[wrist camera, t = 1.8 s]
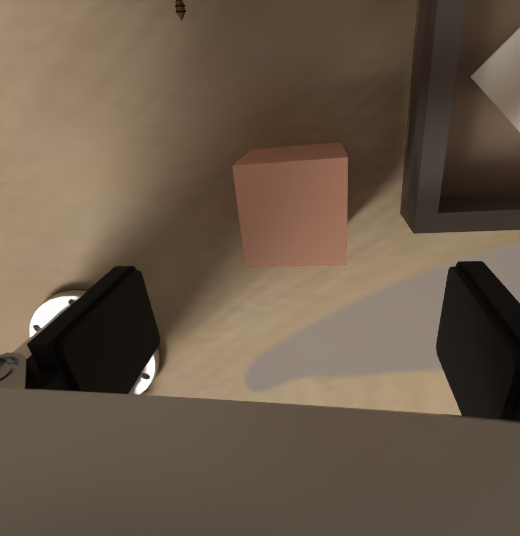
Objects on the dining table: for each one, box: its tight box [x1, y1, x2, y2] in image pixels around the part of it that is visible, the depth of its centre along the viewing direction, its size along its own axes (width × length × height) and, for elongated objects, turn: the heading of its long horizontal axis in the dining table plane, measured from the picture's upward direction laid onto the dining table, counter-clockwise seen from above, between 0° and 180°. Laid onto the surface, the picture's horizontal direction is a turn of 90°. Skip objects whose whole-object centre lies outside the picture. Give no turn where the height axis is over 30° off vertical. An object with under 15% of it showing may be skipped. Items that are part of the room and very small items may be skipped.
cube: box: [232, 142, 348, 267], centre depth 22 cm, size 6×6×6 cm
